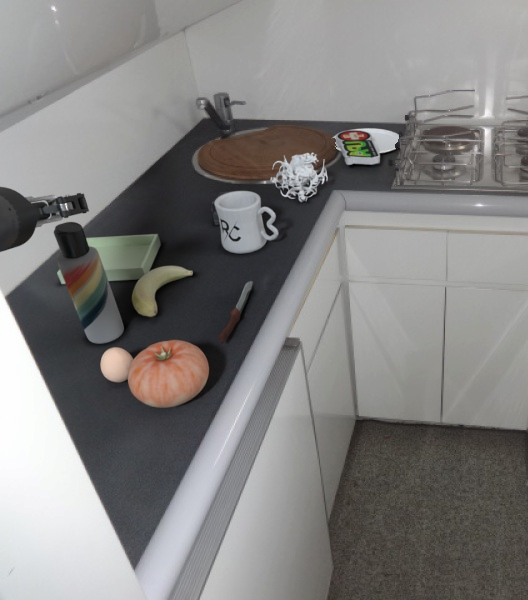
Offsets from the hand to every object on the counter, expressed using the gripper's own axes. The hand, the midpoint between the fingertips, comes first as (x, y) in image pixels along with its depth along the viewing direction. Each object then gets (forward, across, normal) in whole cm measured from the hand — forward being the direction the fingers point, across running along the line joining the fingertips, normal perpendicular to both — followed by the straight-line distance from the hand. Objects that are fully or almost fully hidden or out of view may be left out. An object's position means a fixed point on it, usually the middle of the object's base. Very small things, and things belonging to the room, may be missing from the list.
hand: (50, 207), depth 83 cm
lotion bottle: (+8, +2, +22) cm, 23 cm away
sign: (+77, -52, 0) cm, 93 cm away
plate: (+86, -50, -1) cm, 99 cm away
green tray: (+30, +6, +13) cm, 33 cm away
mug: (+34, -20, +15) cm, 42 cm away
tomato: (-6, -12, +29) cm, 32 cm away
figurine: (+54, -31, -3) cm, 62 cm away
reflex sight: (+48, -14, +9) cm, 51 cm away
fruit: (+18, -6, +19) cm, 27 cm away
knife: (+11, -20, +23) cm, 32 cm away
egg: (-3, -4, +26) cm, 27 cm away
